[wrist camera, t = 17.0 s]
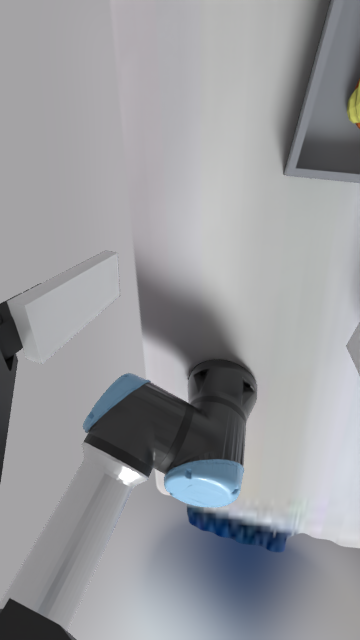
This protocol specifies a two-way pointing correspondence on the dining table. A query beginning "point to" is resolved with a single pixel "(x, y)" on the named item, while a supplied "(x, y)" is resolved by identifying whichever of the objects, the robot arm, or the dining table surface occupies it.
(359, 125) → the cheeseburger
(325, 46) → the bin
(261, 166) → the dining table surface
